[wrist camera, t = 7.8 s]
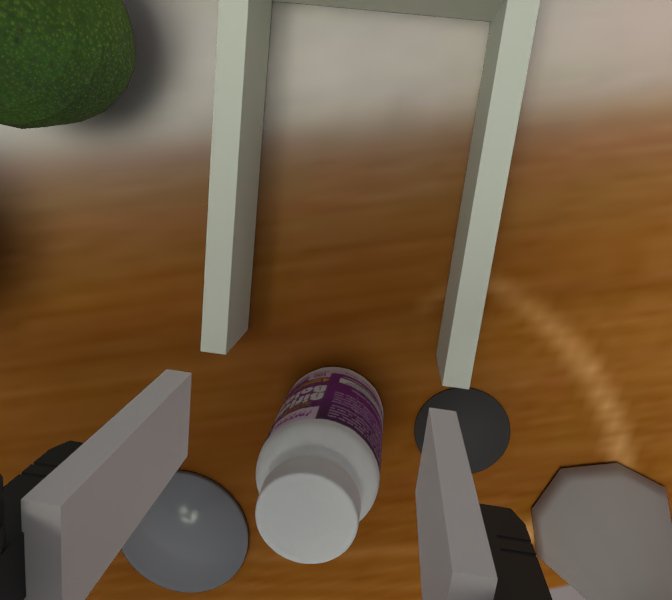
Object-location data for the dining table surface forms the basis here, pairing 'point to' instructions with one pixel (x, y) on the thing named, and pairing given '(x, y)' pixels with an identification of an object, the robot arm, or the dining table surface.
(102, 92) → the fruit
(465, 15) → the frame
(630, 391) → the dining table surface
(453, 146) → the dining table surface
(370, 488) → the pill bottle
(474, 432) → the hole pad
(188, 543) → the coaster
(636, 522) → the flask
